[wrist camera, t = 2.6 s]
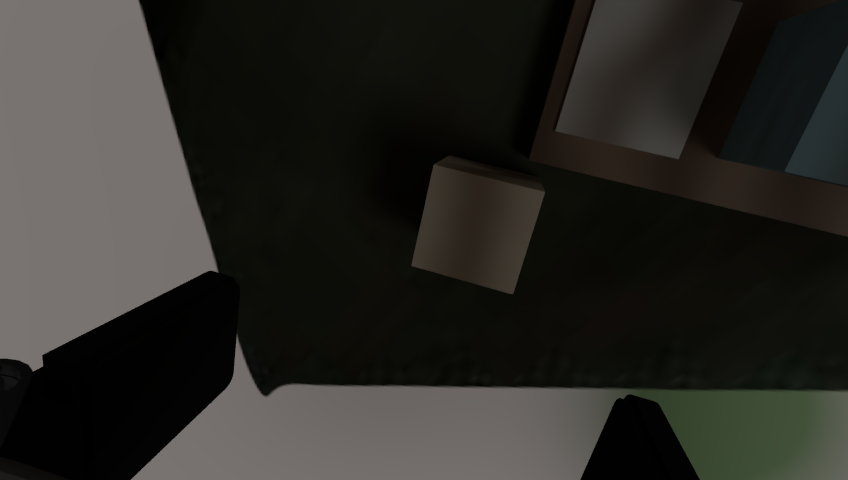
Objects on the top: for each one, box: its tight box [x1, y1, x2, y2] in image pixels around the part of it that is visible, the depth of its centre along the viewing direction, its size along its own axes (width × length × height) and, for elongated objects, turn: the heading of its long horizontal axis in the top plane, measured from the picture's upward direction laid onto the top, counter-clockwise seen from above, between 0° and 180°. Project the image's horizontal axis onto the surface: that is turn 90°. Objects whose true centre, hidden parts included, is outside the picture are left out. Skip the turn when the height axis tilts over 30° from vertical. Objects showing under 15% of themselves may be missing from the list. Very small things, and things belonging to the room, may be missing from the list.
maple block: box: [411, 155, 545, 294], centre depth 25 cm, size 6×6×6 cm
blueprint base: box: [528, 0, 848, 236], centre depth 20 cm, size 18×12×8 cm, turn 78°
